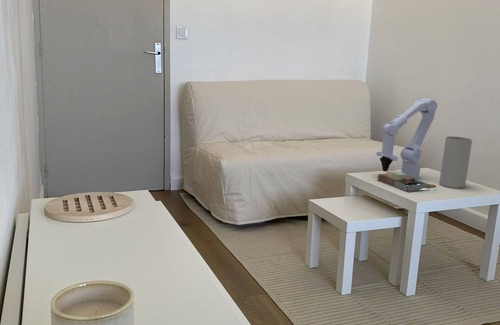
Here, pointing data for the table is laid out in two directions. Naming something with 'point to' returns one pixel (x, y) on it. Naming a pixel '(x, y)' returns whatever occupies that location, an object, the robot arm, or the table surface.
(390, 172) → the tile cream
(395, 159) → the robot arm
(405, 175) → the tile sage
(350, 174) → the table surface
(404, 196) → the table surface
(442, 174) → the cylinder vase
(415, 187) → the box
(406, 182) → the bench plate
